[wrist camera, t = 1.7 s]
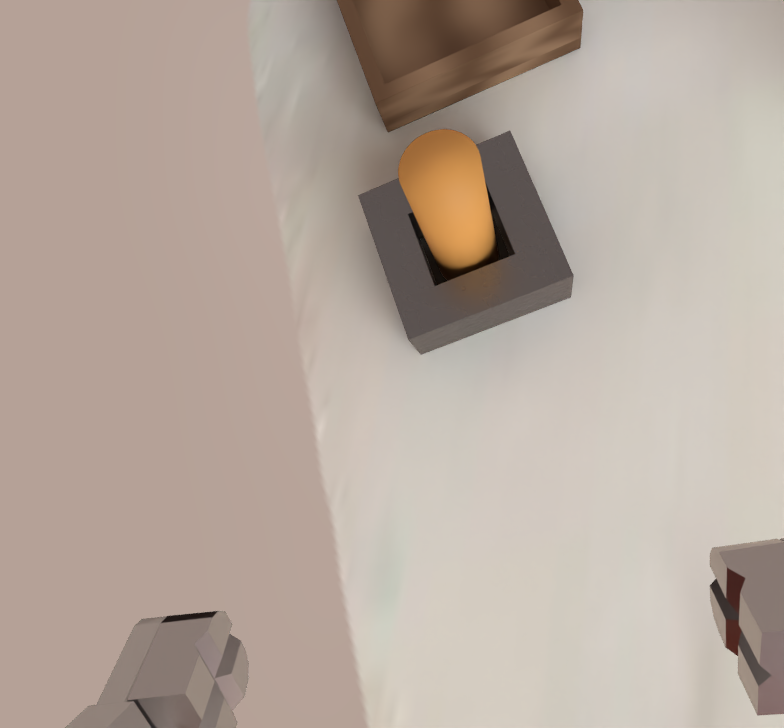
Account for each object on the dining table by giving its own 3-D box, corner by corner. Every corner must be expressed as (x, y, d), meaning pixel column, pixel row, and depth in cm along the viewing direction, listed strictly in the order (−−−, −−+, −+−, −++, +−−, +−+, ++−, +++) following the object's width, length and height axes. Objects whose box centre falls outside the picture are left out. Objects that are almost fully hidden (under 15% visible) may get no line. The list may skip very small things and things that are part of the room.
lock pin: (486, 219, 43) (464, 116, 31) (507, 273, 41) (493, 186, 30) (429, 243, 43) (387, 149, 32) (449, 296, 42) (413, 219, 31)
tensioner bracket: (513, 163, 43) (510, 130, 39) (570, 297, 40) (573, 276, 36) (374, 221, 44) (358, 195, 40) (421, 354, 42) (408, 339, 38)
